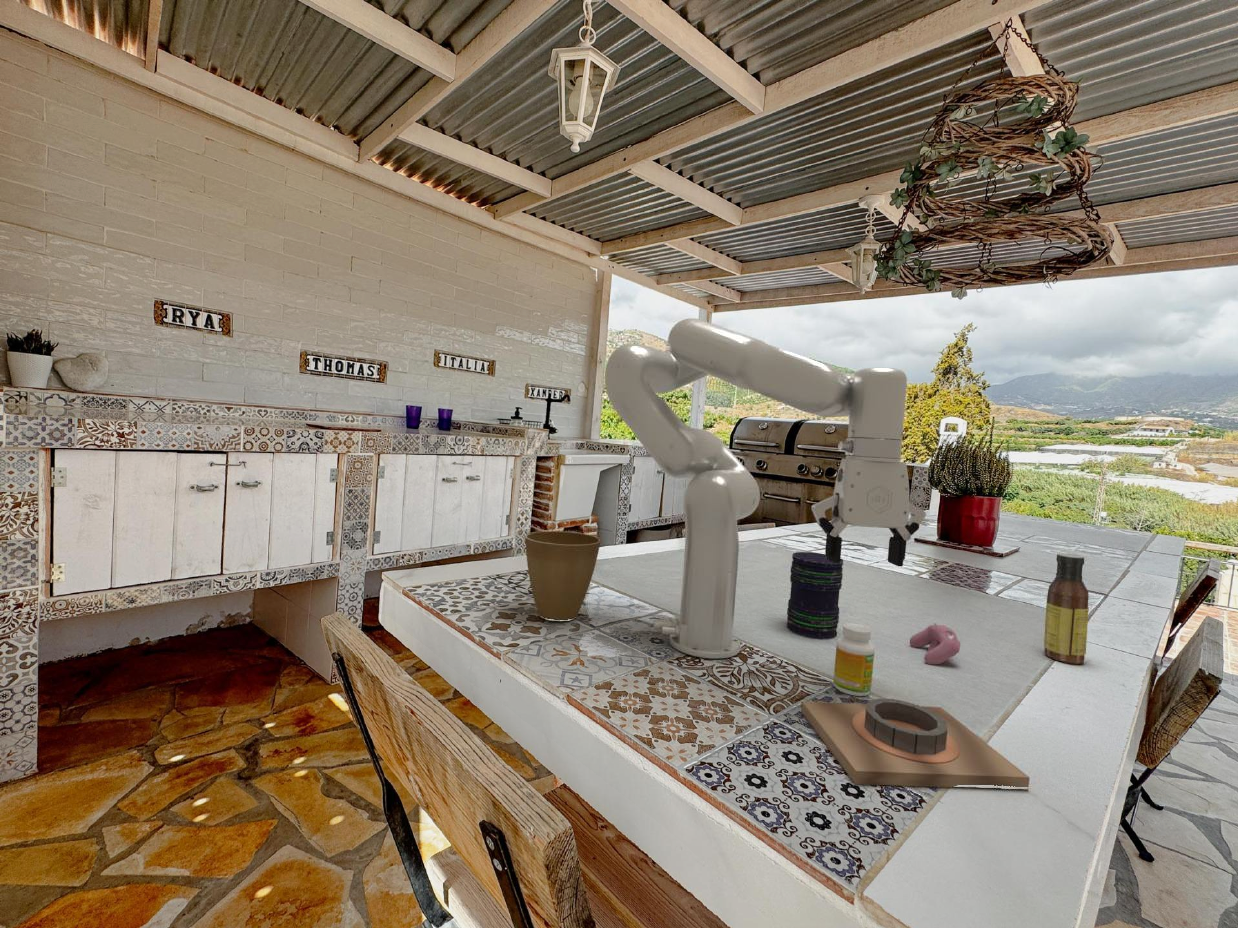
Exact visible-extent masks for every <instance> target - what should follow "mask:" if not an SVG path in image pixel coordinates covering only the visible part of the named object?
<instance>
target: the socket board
mask: <svg viewBox="0 0 1238 928" xmlns="http://www.w3.org/2000/svg"><path fill="white" fill-rule="evenodd" d="M800 713H801V714H802V715H803V716H804V717H805V719H806V720H807V722H808V723H809V724H810V726H811V727H812V728H813V730H814V731H815V733H816V734H817V736H818V737H820V739H821V740H822V742H823V743H824V745H825V747H827V748H828V750H829V751H830V752H831V754H832V755H833V757H834V758H835V759H836V761H837V762H838V763H839V765H840V766H841V768H843V770H844V771H845V773H846V774H847V775H848V777H849V779H850V780H851V781H852V782H853V783H854V785H869V786H871V785H872V786H874V785H875V786H877V785H878V786H897V787H898V786H900V787H901V786H903V787H926V788H927V787H929V788H952V787H954V786H957V785H994V786H996V785H997V786H1002V785H1003V786H1010V787H1011V786H1013V787H1014V786H1015V787H1030V776H1029V775H1028V774H1026V773H1025V772H1023V770H1021V769H1020V768H1018V767H1017V766H1016V765H1015V764H1013V763H1012V762H1011V761H1010V760H1008V758H1006V757H1005V756H1003V755H1002V754H1001V753H999V751H997V750H996V749H994V748H993V747H992V746H991V745H989V744H988V743H987V742H986V741H984V740H983V739H982V738H981V737H979V736H978V735H977V734H975V732H974V731H971V729H969V728H968V727H967V726H965V725H964V724H963V723H962V722H960V721H959V720H958V719H957V718H955V717H954V716H953V715H951V714H950V713H949V712H947V711H946V709H944V708H943V707H942V706H924V705H923V706H922V705H918V704H916V703H913V702H907V701H904V700H900V699H895V698H875V699H872V700H870V701H867V702H866V703H851V702H850V703H849V702H830V701H829V702H825V701H824V702H823V701H809V700H808V701H801V712H800Z"/></svg>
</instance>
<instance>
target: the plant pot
mask: <svg viewBox="0 0 1238 928" xmlns="http://www.w3.org/2000/svg"><path fill="white" fill-rule="evenodd" d="M524 540H525V543H524V544H525V553H526V555H525V556H526V561H527V570H528V576H529V582H530V583H529V584H530V588H531V592H532V596H533V600H534V604H535V608H536V611H537V614H538V616H539V615H540V616H542V617H544V618H547V619H554V620H568V619H573V618H575V617H576V616H578V614H579V612H580V610H581V608H582V605H583V604H584V603H583V602H584V600H585V598H586V595H587V594H588V593H587V592H588V590H589V588H590V584H591V581H592V579H593V574H594V571H595V568H596V565H597V560H598V556H599V550H600V546H601V541H602V540H601V539H600V538H599V537H597V536H595V535H590V534H586V533H582V532H574V531H561V530H560V531H559V530H544V531H543V530H542V531H534V532H529V533H526V534H525V536H524ZM576 618H577V617H576ZM576 618H575V619H576Z"/></svg>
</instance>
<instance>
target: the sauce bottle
mask: <svg viewBox="0 0 1238 928" xmlns="http://www.w3.org/2000/svg"><path fill="white" fill-rule="evenodd" d="M1056 562H1057V563H1056V564H1057V565H1056V573H1055V578H1053V581H1052V582H1051V583H1050V584H1049V586H1048V591H1047V596H1046V608H1045V618H1044V619H1045V620H1044V621H1045V622H1044V637H1043V638H1044V639H1043V647H1044V654H1045V655H1046V656H1047V657H1048V658H1050V659H1052V660H1055V661H1058V662H1062V663H1066V664H1073V665H1080V664H1081V665H1082V664H1084V661H1085V657H1086V654H1087V644H1088V643H1087V639H1088V627H1089V625H1088V622H1089V611H1090V610H1089V599H1090V598H1089V590H1088V588H1087V586H1086V584H1085V583H1084V581H1083V567H1084V564H1085V557H1084V556H1083V555H1078V554H1072V553H1062V552H1060V553H1057V554H1056Z"/></svg>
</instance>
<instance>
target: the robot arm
mask: <svg viewBox="0 0 1238 928" xmlns="http://www.w3.org/2000/svg"><path fill="white" fill-rule="evenodd" d="M667 346H668V349H666V350H664V351H663V350H661V349H657V348H654V347H651V346H648V345H645V344H639V343H627V344H623V345H621V346H619V347H617V348H615V350H613V351H612V353H611V354H610V355H609V358H608V360H607V362H606V366H605V370H604V382H605V383H604V384H605V385H604V387H605V391H606V394H607V397H608V400H609V403H610V404H611V406H612V407H613V409H614V410H615V412H616V413H617V415H618V417H620V419H621V420H622V421H623V422H624V424H626V425H627V427H628V428H629V430H631V432H632V433H633V435H634V436H635V437H636V438H637V440H638V441H639V442H640V444H642V446H643V448H644V449H646V451H647V452H648V454H649V455H650V456H651V457H652V458H653V460H654V461H655V463H656V464H657V465H658V466H659V468H660V469H661V470H662V471H663V472H664V473H665V474H666V475H668V476H669V477H673V478H676V479H689V478H692V479H691V480H690V482H689V483H688V484H687V486H686V489H685V491H684V494H683V495H684V496H683V513H684V527H685V534H684V536H685V537H684V539H685V540H684V551H683V552H684V553H683V571H682V572H683V573H682V586H681V587H682V588H681V598H680V600H681V601H680V612H679V613H677V614H675V615H676V617H675V618H671V619H670V620H664V619H655V618H654V619H653V624H652V625H653V626H652V627H653V631H661V635H669V643H670V646H672V647H673V648H674V649H676V650H677V651H679V652H681V653H684V654H686V655H690V656H691V657H692V656H693V657H697V658H702V659H714V660H715V659H728V658H731V657H734V656H737V655H738V654H739V653H740V652H741V646H742V644H741V641H740V640H739V639H738V638H737V637H735V635H733V634H734V633H733V631H734V623H735V622H734V619H735V607H736V597H737V596H736V594H737V581H738V580H737V579H738V571H739V570H738V569H739V552H740V551H739V550H740V540H739V530H738V520H741V519H742V520H743V519H745V518H746V517H749V516H751V515H752V514H753V513H754V511H756V509H757V508H758V506H759V503H760V501H761V500H760V499H761V492H760V488H759V485H758V483H757V481H756V479H755V478H754V476H753V475H752V474H751V472H750V471H749V470H748V469H747V468H746V467H745V466H744V465H743V463H742V462H741V461H740V460H739V459H738V457H736V456H735V454H734V453H733V452H732V450H730V449H729V447H728V446H727V445H726V444H725V443H724V442H723V440H721V439H720V438H719V437H718V436H716V435H715V434H714V433H712V432H710V431H708V430H706V429H701V428H694V427H691V426H688V425H687V424H686V423H685V422H684V421H682V420H681V419H680V417H679V416H678V415H677V414H676V413H675V411H674V410H673V408H671V407H670V405H669V404H668V403H667V402H666V401H665V400H664V399H662V398H661V397H660V396H659V395H658V394H665V393H670V392H673V391H676V390H678V389H680V388H683V387H685V386H687V385H689V384H692V383H694V382H696V381H699V380H701V379H702V378H705V377H707V376H708V375H709V376H711V377H714V378H717V379H719V380H721V381H723V382H726V383H729V384H731V385H734V386H736V387H738V388H740V389H743V390H744V389H745V390H749V391H752V392H755V393H757V394H760V395H762V396H764V397H767V398H769V399H772V400H774V401H776V402H779V403H782V404H784V405H786V406H789V407H790V408H791V407H792V408H793V409H797V410H799V411H801V412H804V413H807V414H811V415H815V416H819V417H822V418H840V417H847V416H848V427H847V428H848V429H847V438H845V439H846V440H844V441H839V443H838V445H837V447H838V450H839V451H843V452H844V455H845V458H841V461H840V464H839V467H838V471H837V474H836V477H835V478H836V479H835V483H834V490H833V495H831V496H830V497H827V498H825V499H823V500H820V501H819V502H817V503H814V504H812V505H811V511H812V513H813V516H814V518H815V520H816V521H815V522H816V524H817V525H818V526H819V527H820V528H821V529H822V531H823V532H824V534H826V536H825V549H824V551H825V552H824V554H826V556H827V559H828V560H829V561H831V562H833V563H840V559H842V558H841V556H842V546H843V545H842V543H843V538H842V537H841V536H840V534H841V533H842V532H843V531H844V530H845V529H846V528H847V527H848V526H853V527H860V528H876V529H877V528H878V529H879V528H880V529H888V530H890V533H891V534H892V535H893V536H890V537H889V541H888V551H887V552H888V553H887V562H888V563H890V564H892V565H894V566H896V567H901V568H902V567H903V566H904V561H905V559H906V551H907V542H908V541H910V540H911V538H912V535H914V534H915V533H916V532H917V531H918V530H919V528H920V525H921V524H922V523H923V521H924V519H925V517H926V516H927V513H926V511H924V510H923V509H921V508H919V507H918V506H917V505H914V504H913V503H911V502H910V482H909V474H908V468H907V467H908V466H907V462H906V461H905V462H902V461H901V458H902V446H903V445H902V444H903V435H904V434H903V433H904V421H905V413H906V412H905V411H906V410H905V409H906V397H907V388H908V387H907V386H908V378H907V374H906V373H905V372H904V371H903V370H901V369H897V368H891V367H869V368H868V367H867V368H862V369H859V370H857V371H856V372H855V373H852V372H843V371H841V370H838V369H836V368H835V367H832V366H830V365H828V364H825V363H822V362H820V361H817V360H814V359H812V358H808V357H806V356H804V355H803V356H802V355H799V354H796V353H794V352H791V351H787V350H785V349H782V348H779V347H776V346H774V345H771V344H768V343H766V342H765V341H764V340H761V339H758V338H755V337H752V336H750V335H747V334H743V333H740V332H737V331H734V330H732V329H728V328H726V327H723V326H720V325H717V324H714V323H712V322H709V321H706V320H703V319H698V318H691V317H690V318H685V319H682V320H680V321H678V322H677V323H676V324H674V325H673V327H671V329H670V331H669V334H668V338H667ZM829 509H831V515H832V518H831V520H829V519H827V517H826V516H827V515H826V511H827V510H829ZM909 516H910V518H909Z"/></svg>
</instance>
